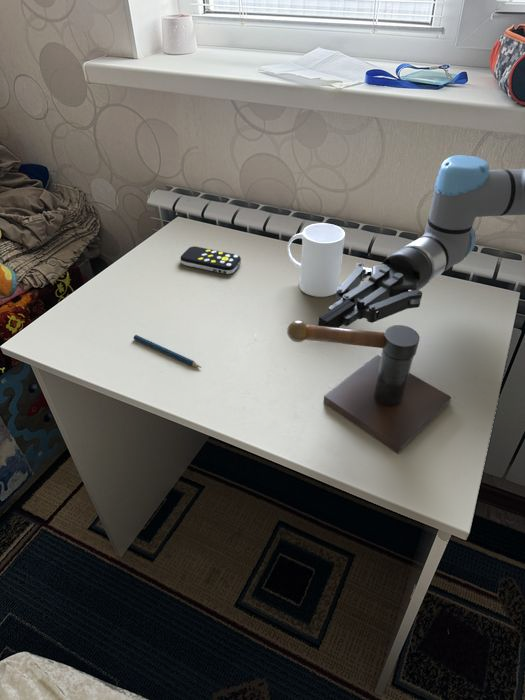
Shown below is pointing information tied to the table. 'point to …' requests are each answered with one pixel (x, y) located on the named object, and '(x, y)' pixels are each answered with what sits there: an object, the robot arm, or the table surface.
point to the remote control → (210, 260)
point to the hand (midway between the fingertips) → (322, 326)
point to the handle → (360, 337)
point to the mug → (320, 259)
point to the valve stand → (387, 401)
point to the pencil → (166, 351)
